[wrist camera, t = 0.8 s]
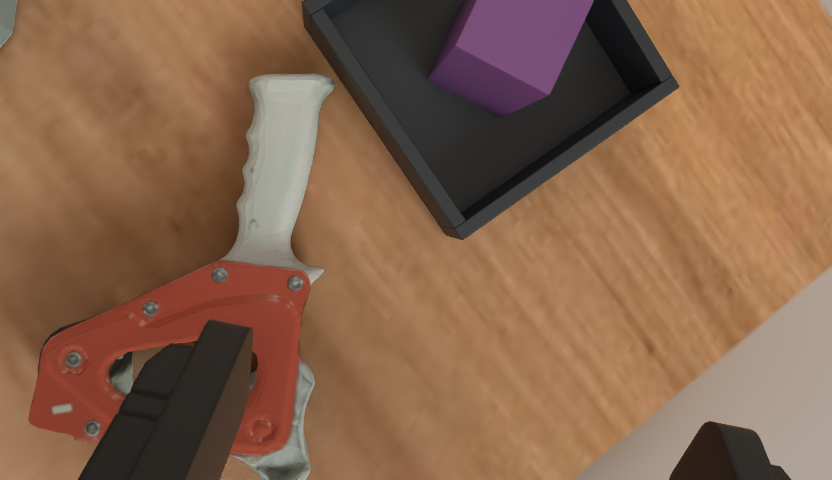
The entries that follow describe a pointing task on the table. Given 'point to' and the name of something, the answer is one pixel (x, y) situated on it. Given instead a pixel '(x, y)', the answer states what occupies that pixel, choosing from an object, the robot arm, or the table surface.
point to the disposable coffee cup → (7, 19)
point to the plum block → (507, 51)
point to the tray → (471, 125)
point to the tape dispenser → (216, 301)
